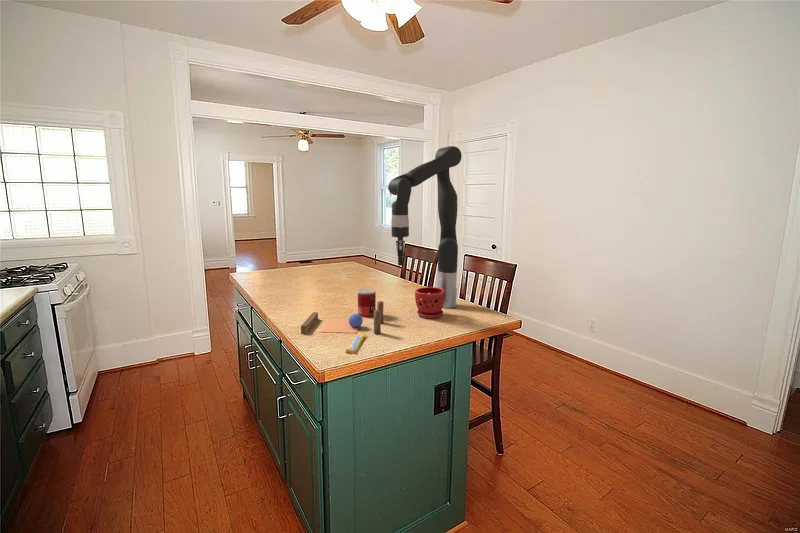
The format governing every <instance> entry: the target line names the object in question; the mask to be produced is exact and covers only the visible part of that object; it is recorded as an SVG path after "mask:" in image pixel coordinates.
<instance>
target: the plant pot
mask: <svg viewBox="0 0 800 533" xmlns="http://www.w3.org/2000/svg"><path fill="white" fill-rule="evenodd" d="M444 298H445V292H444V290H443V289H441V288H437V286H436V287H435V286H425V287H424V286H423V287H419V288H416V289H415V290H414V300H415V305H416V308H417V311H416V313H417V315H418V316H419V317H421V318H422V319H423V318H425V319H430V320H431V319H438V318H440V317H441V316H443V313H444V311H443V309H444V308H443V305H444Z"/></svg>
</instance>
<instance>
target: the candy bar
mask: <svg viewBox="0 0 800 533" xmlns="http://www.w3.org/2000/svg"><path fill="white" fill-rule="evenodd" d="M355 334H356V335H355V337H354V339H353V340H352V342H351V344H350V345H349V347H348V348H346V349H345V353H347V354H357V352H358V351H357V350H359V349H360V348H361V346H362V344H363V342H364V340H365V338H366V337H367V336H368V334H367V333H366V334H365V333H364V334H363V333H362V334H361V333H359V334H358V333H355ZM360 345H361V346H360Z"/></svg>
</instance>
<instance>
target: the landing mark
mask: <svg viewBox="0 0 800 533" xmlns="http://www.w3.org/2000/svg"><path fill="white" fill-rule="evenodd" d="M359 328H360V327H358V328H353V327H351V326H350V324H349V320H327V322H326V323H325V324H324V326H323V327H322V329H321V331H320V333H331V334H332V333H336V334H338V333H339V334H340V333H341V334H343V333H344V334H358V331H359Z"/></svg>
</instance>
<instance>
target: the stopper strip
mask: <svg viewBox="0 0 800 533" xmlns="http://www.w3.org/2000/svg"><path fill="white" fill-rule="evenodd" d="M318 320H319V312H318V311H316V312H315V311H313V312H312V313H311V314H310V315H309V316H308V317H307V318H306V320H305V321H304V322H303V323H302V324H301V325H300V334H302V335H304V334H305V335H306V334H307V333H308V332H309V331H310V330H311V328H312V327H313V326H314V325H315V324H316V322H317V321H318Z"/></svg>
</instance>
